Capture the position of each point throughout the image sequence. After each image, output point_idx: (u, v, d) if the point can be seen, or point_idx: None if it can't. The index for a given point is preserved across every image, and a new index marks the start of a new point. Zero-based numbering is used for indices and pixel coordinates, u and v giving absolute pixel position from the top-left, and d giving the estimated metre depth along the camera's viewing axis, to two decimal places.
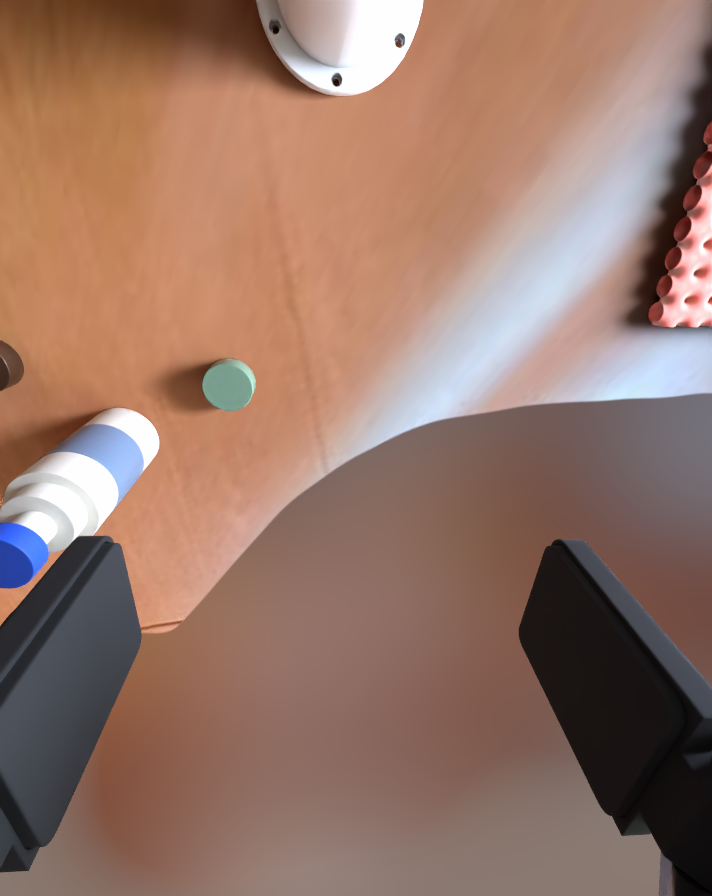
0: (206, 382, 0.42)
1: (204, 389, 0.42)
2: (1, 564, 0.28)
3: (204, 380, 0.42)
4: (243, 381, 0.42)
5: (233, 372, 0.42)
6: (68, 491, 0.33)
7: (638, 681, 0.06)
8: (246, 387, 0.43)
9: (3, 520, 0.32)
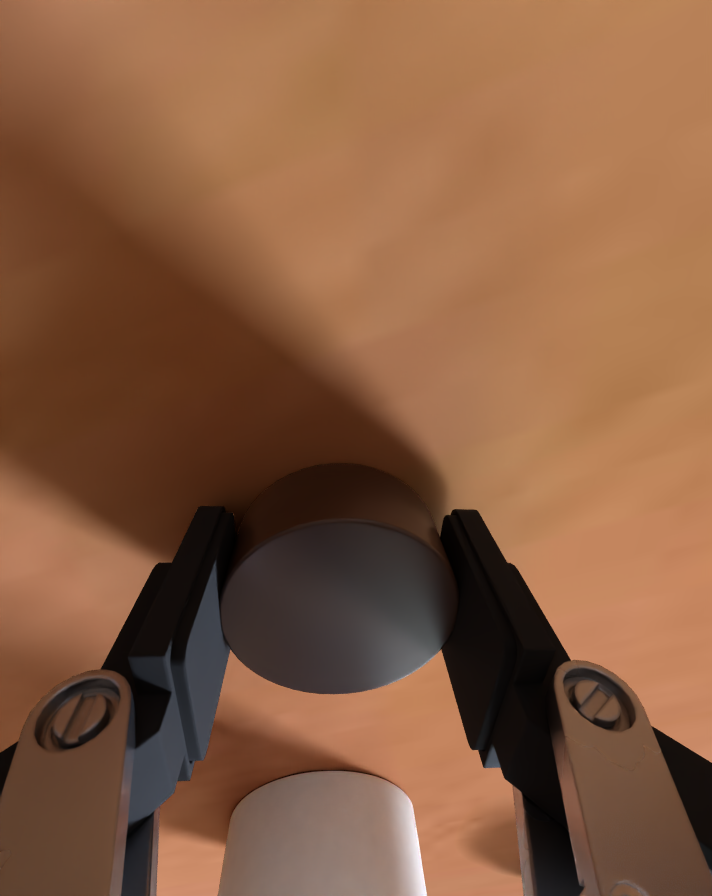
0: None
1: None
2: None
3: None
4: None
5: None
6: None
7: (488, 625, 0.07)
8: None
9: None
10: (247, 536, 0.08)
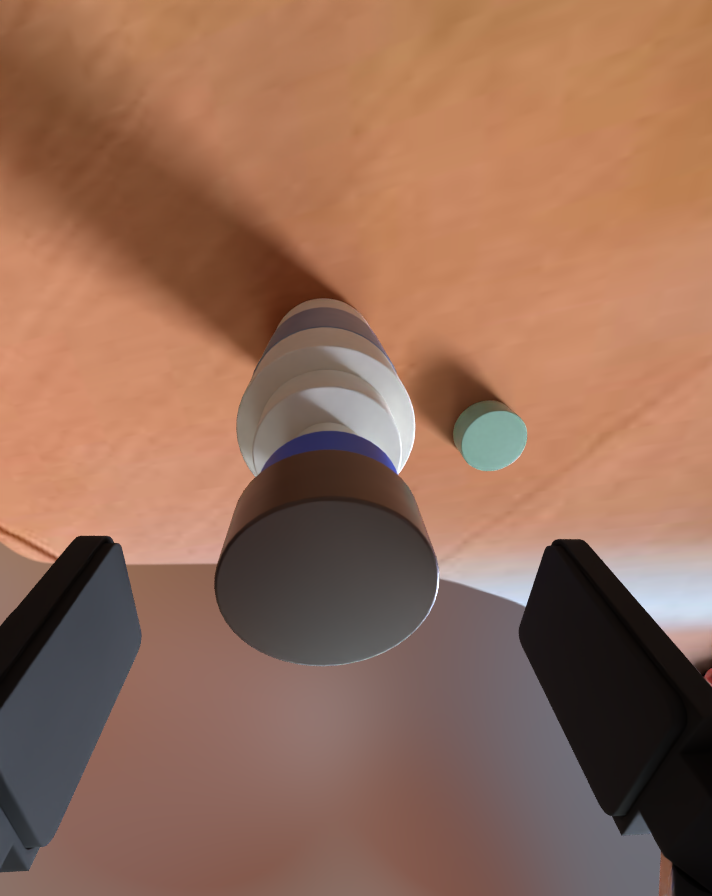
0: (489, 417, 0.30)
1: (478, 420, 0.30)
2: None
3: (491, 414, 0.30)
4: (512, 452, 0.32)
5: (518, 437, 0.31)
6: None
7: (638, 681, 0.06)
8: (506, 459, 0.32)
9: (301, 400, 0.14)
10: (241, 515, 0.09)
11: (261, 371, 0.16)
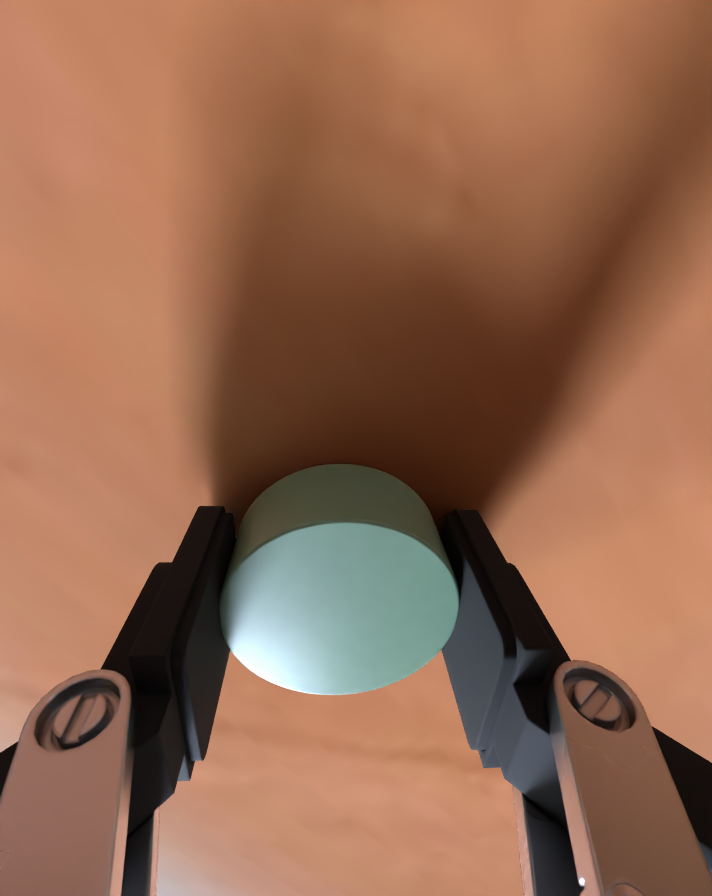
0: (419, 563, 0.08)
1: (396, 538, 0.08)
2: None
3: (433, 561, 0.08)
4: (330, 676, 0.09)
5: (386, 665, 0.09)
6: None
7: (488, 625, 0.07)
8: (300, 675, 0.09)
9: None
10: None
11: None
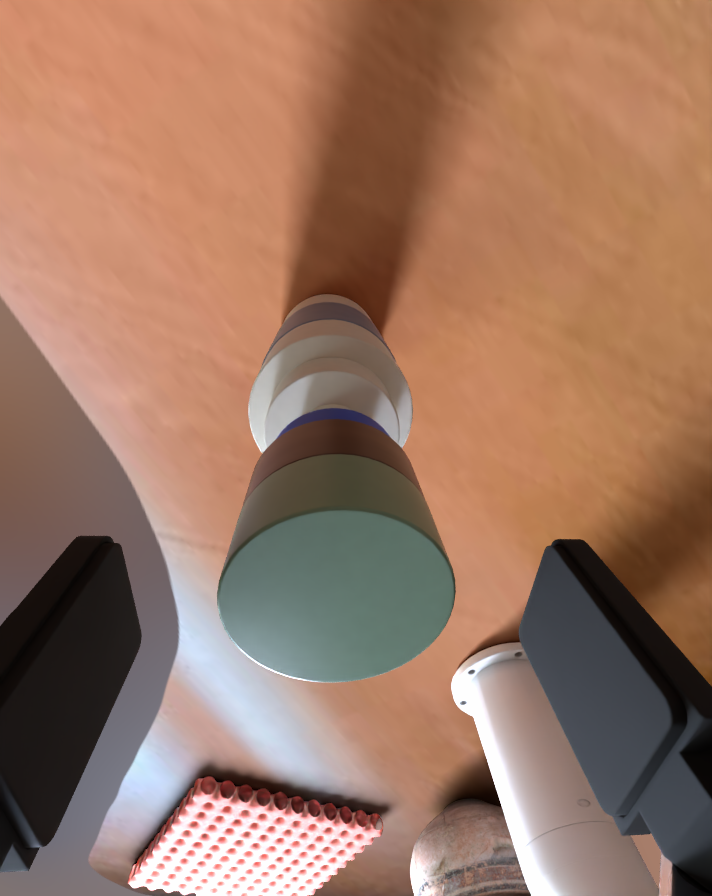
0: (415, 550, 0.08)
1: (392, 525, 0.08)
2: None
3: (429, 548, 0.08)
4: (328, 664, 0.10)
5: (383, 652, 0.10)
6: None
7: (638, 681, 0.06)
8: (299, 662, 0.09)
9: (375, 396, 0.16)
10: (365, 445, 0.10)
11: (365, 342, 0.17)
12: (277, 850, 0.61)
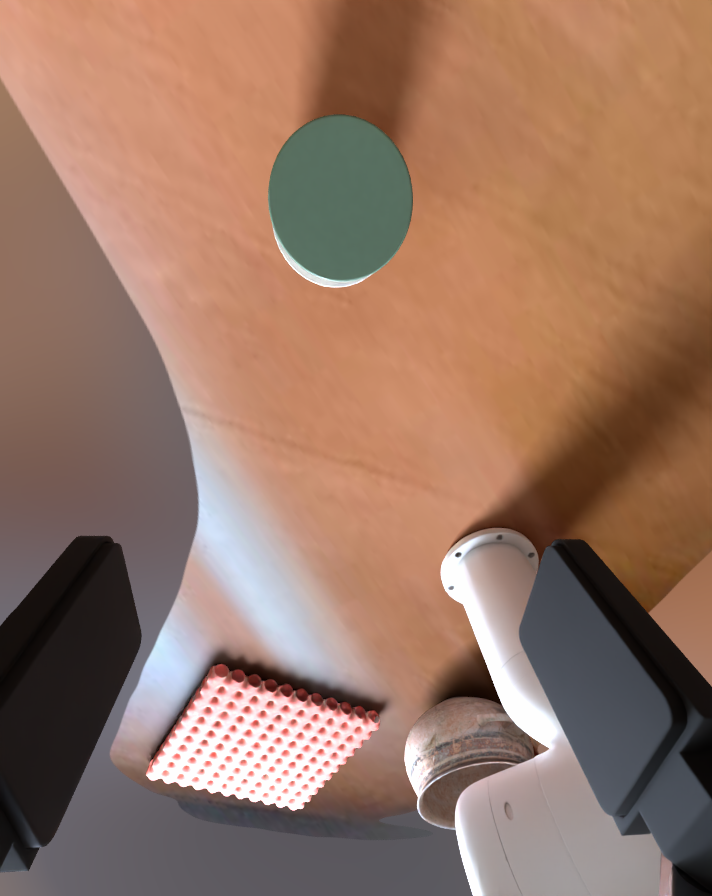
0: (387, 155, 0.14)
1: (373, 131, 0.14)
2: None
3: (395, 154, 0.14)
4: (334, 261, 0.15)
5: (369, 252, 0.15)
6: None
7: (638, 681, 0.06)
8: (316, 257, 0.15)
9: None
10: None
11: None
12: (283, 742, 0.66)
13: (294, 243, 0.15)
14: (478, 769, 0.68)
